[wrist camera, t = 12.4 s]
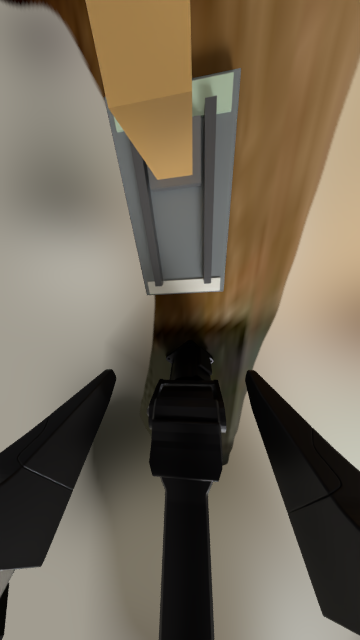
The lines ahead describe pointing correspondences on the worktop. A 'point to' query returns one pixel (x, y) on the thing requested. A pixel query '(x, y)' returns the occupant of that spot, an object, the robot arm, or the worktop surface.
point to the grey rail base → (186, 198)
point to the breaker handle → (151, 83)
